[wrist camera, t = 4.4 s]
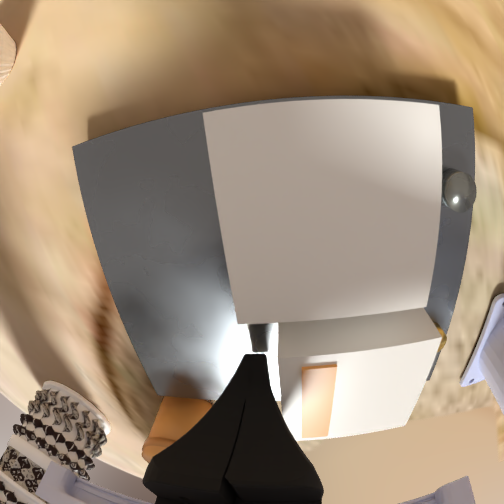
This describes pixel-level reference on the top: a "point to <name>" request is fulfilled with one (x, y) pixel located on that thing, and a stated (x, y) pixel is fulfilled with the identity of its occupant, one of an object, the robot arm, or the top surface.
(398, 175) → the toggle
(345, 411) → the toggle
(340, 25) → the top surface
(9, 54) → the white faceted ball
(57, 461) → the decorative candle
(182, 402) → the cap
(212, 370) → the panel
